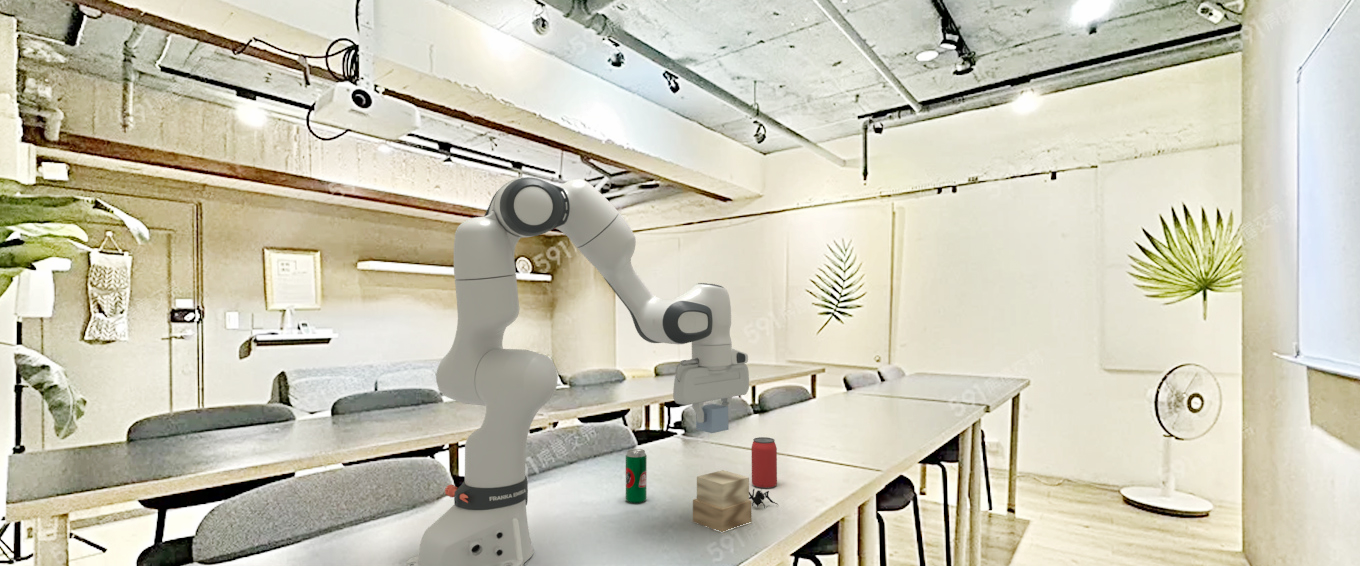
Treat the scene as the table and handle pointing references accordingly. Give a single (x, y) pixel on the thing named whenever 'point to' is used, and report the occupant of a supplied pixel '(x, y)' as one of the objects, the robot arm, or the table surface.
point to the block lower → (721, 515)
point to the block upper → (722, 489)
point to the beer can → (764, 462)
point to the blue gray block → (714, 419)
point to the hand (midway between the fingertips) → (712, 420)
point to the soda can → (636, 476)
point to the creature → (759, 497)
